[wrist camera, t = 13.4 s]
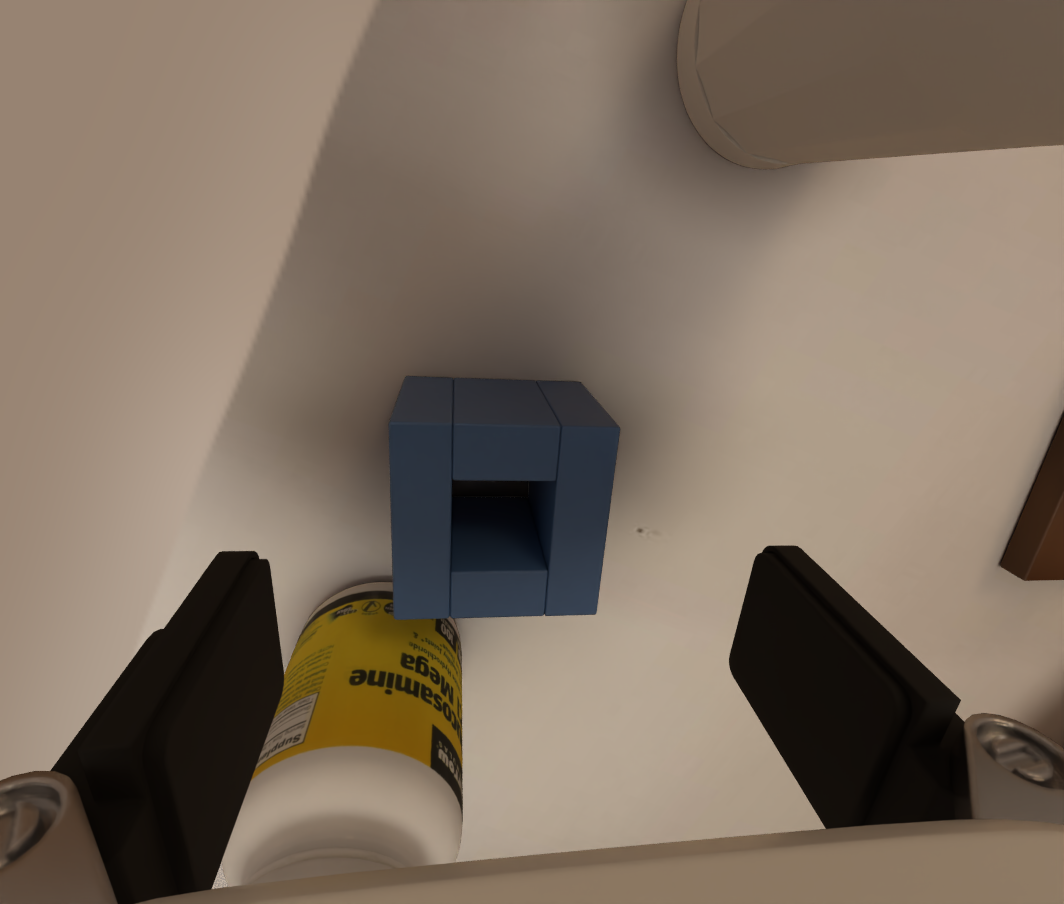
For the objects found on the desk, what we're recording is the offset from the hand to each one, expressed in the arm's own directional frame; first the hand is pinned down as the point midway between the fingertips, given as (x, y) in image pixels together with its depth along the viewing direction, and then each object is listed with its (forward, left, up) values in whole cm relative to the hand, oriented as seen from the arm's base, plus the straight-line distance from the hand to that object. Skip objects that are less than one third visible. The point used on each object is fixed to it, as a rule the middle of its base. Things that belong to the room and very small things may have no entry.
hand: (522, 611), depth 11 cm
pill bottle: (+9, -4, -10) cm, 14 cm away
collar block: (+1, 0, -10) cm, 10 cm away
